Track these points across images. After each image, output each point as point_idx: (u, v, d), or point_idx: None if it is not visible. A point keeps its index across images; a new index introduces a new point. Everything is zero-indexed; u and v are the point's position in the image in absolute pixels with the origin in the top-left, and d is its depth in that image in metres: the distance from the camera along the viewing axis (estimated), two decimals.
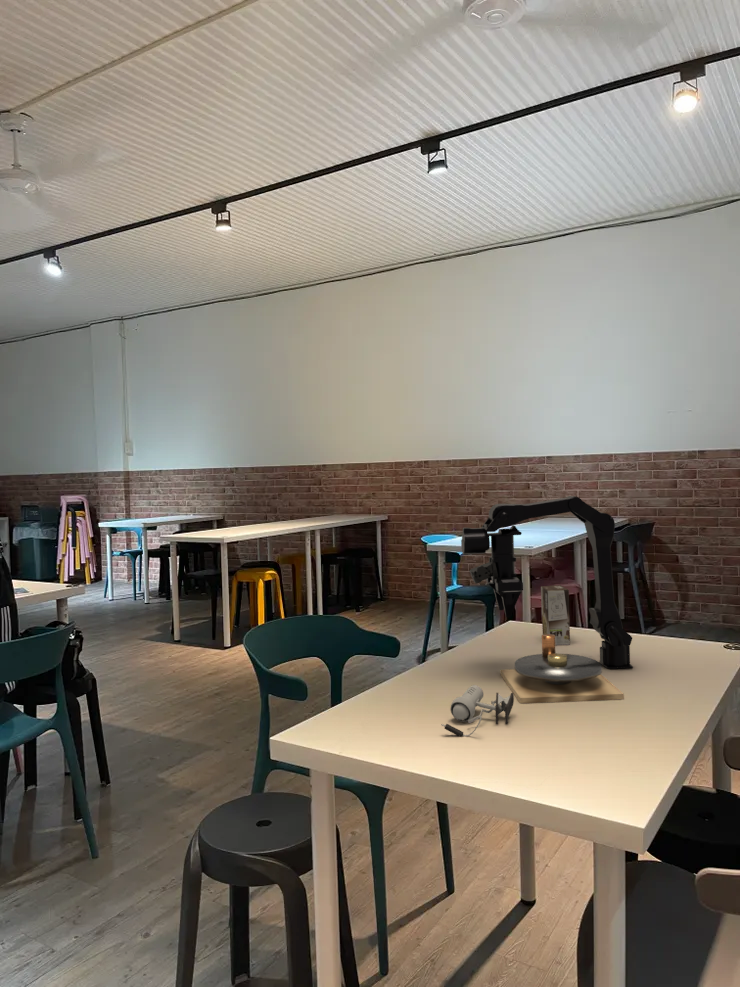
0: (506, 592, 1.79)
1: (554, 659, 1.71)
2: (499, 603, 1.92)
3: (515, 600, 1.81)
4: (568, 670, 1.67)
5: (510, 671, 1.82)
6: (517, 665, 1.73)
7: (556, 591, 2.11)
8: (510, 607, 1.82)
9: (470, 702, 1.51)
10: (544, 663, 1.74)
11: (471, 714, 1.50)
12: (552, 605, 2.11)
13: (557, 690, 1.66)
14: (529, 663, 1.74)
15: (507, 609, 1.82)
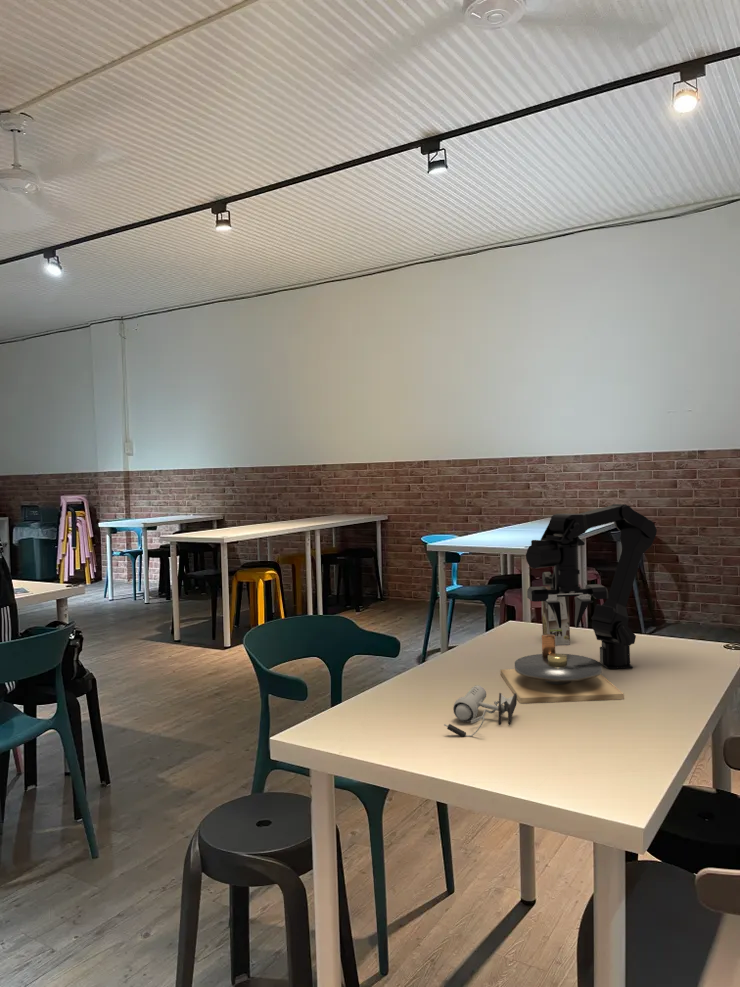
0: None
1: (554, 659, 1.71)
2: (575, 619, 1.81)
3: (554, 611, 1.79)
4: (568, 670, 1.67)
5: (510, 671, 1.82)
6: (517, 665, 1.73)
7: None
8: (556, 618, 1.80)
9: (473, 702, 1.51)
10: (544, 663, 1.74)
11: (474, 714, 1.50)
12: None
13: (557, 690, 1.66)
14: (529, 663, 1.74)
15: (556, 619, 1.81)
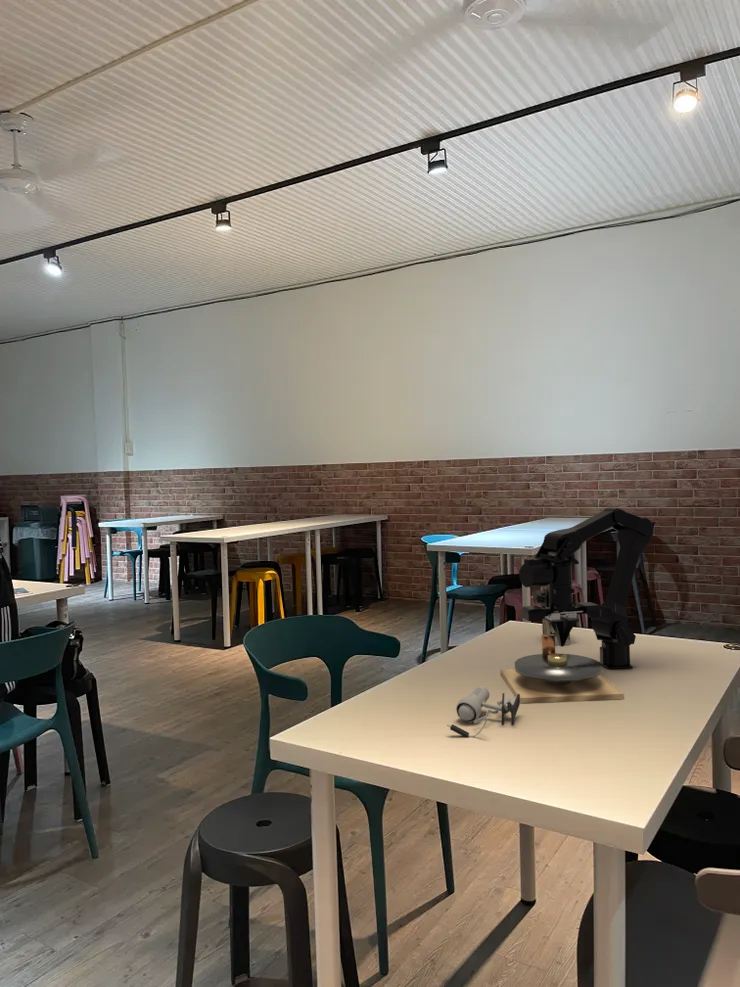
0: (546, 619, 1.81)
1: (554, 659, 1.71)
2: None
3: (557, 630, 1.79)
4: (568, 670, 1.67)
5: (510, 671, 1.82)
6: (517, 665, 1.73)
7: None
8: (558, 637, 1.80)
9: (476, 703, 1.50)
10: (544, 663, 1.74)
11: (477, 715, 1.50)
12: None
13: (557, 690, 1.66)
14: (529, 663, 1.74)
15: (558, 637, 1.81)
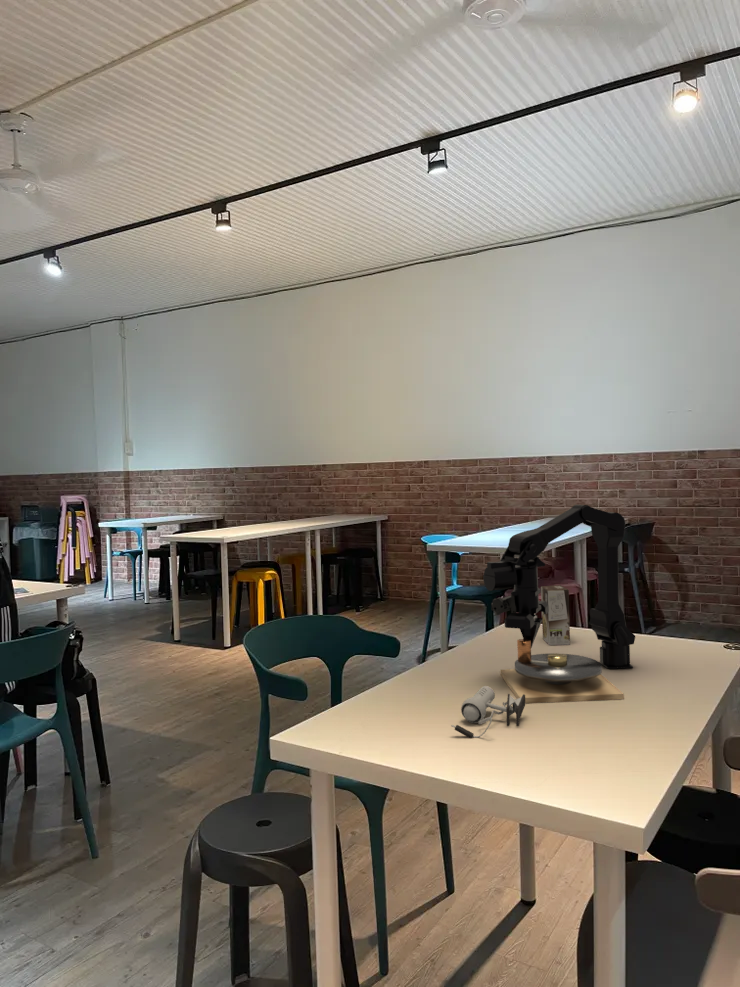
0: None
1: (563, 659, 1.71)
2: None
3: (533, 632, 1.77)
4: (582, 665, 1.71)
5: (510, 671, 1.82)
6: (545, 674, 1.65)
7: (556, 591, 2.11)
8: (529, 639, 1.78)
9: (481, 703, 1.50)
10: (549, 666, 1.71)
11: (482, 715, 1.49)
12: (552, 605, 2.11)
13: (557, 690, 1.66)
14: (543, 670, 1.68)
15: None
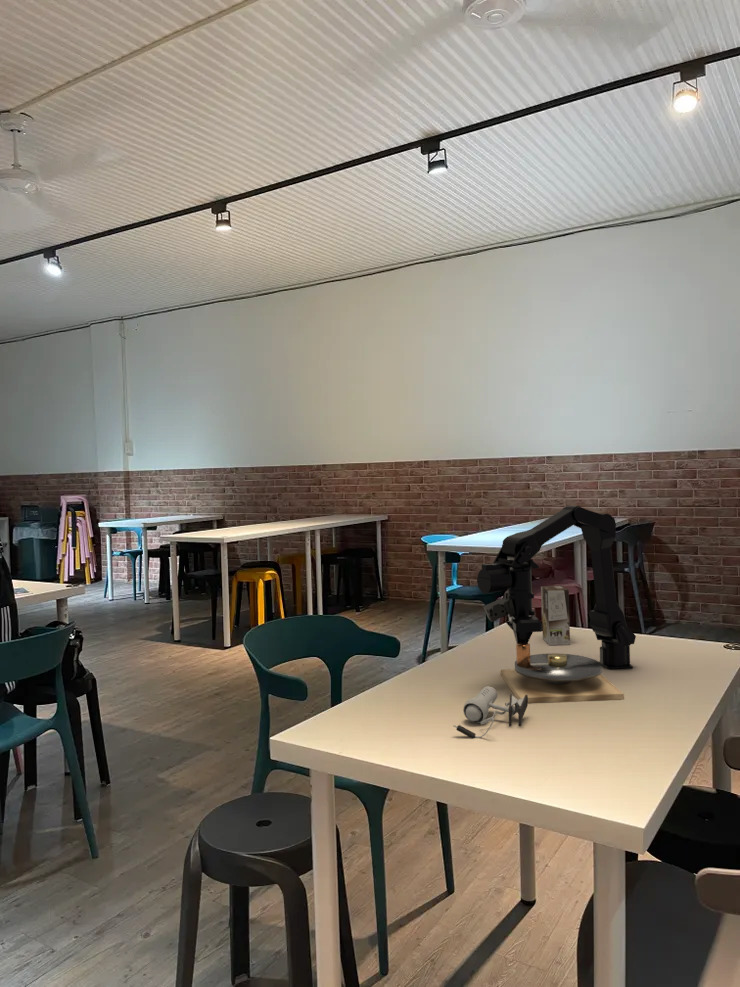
0: None
1: (566, 658, 1.72)
2: None
3: (529, 635, 1.74)
4: (580, 662, 1.74)
5: (510, 671, 1.82)
6: (566, 675, 1.64)
7: (556, 591, 2.11)
8: None
9: (483, 703, 1.50)
10: (556, 667, 1.70)
11: (484, 715, 1.49)
12: (552, 605, 2.11)
13: (557, 690, 1.66)
14: (557, 671, 1.67)
15: None
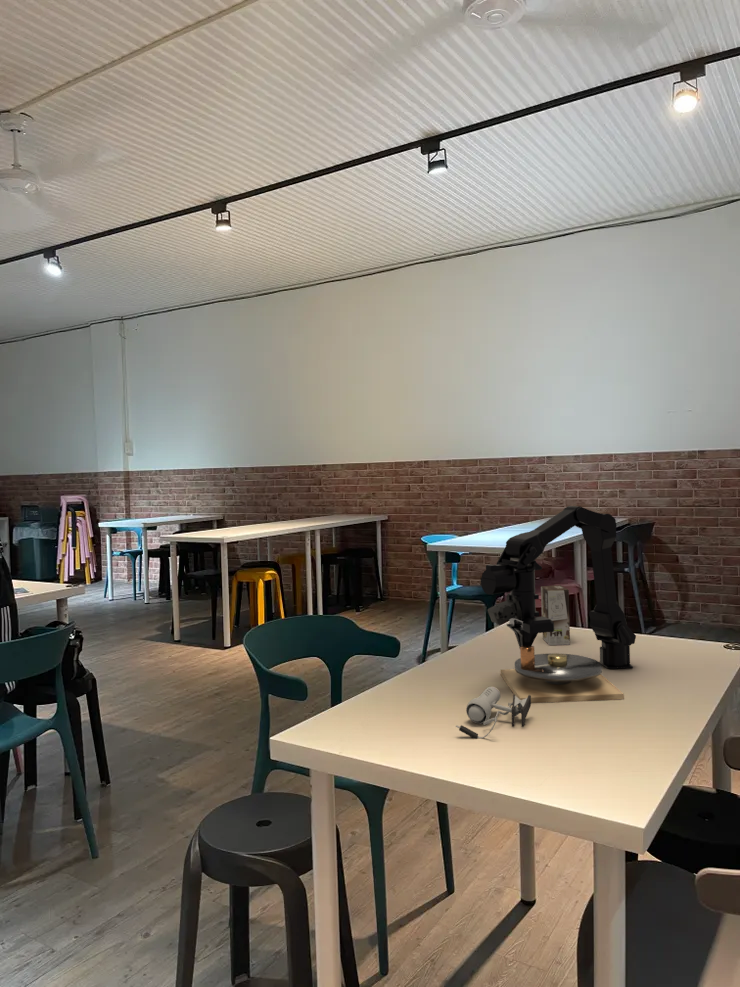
0: None
1: (566, 657, 1.72)
2: None
3: (533, 637, 1.73)
4: (575, 660, 1.76)
5: (510, 671, 1.82)
6: (580, 674, 1.64)
7: (556, 591, 2.11)
8: None
9: (486, 704, 1.49)
10: (560, 667, 1.70)
11: (487, 716, 1.49)
12: (552, 605, 2.12)
13: (557, 690, 1.66)
14: (567, 671, 1.66)
15: None
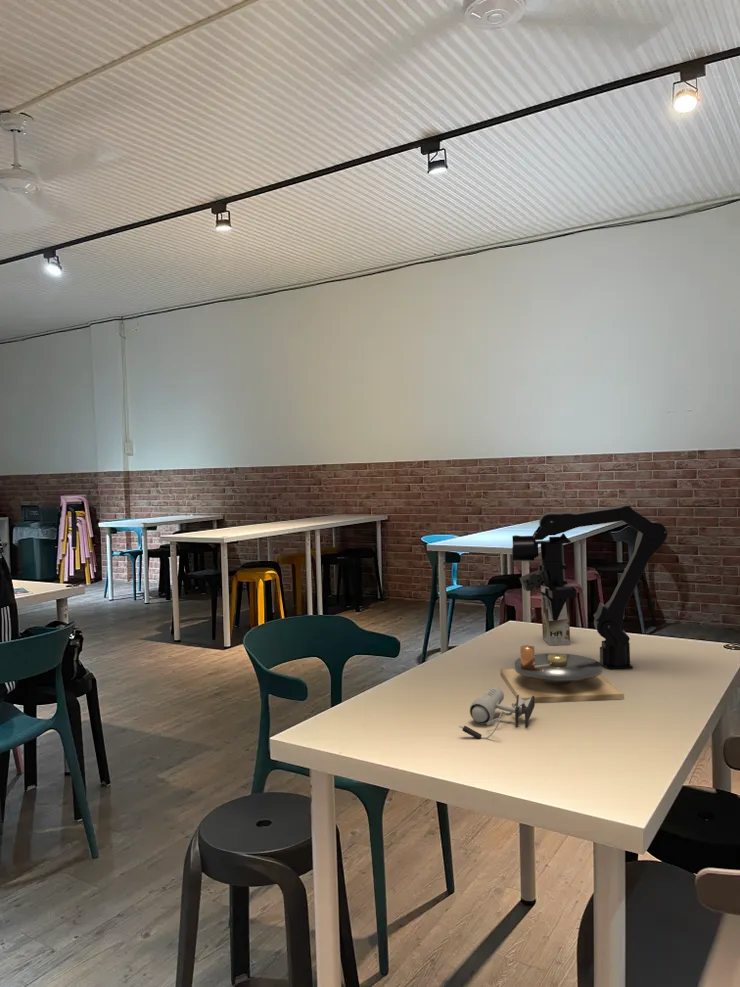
0: None
1: (566, 657, 1.72)
2: None
3: (562, 604, 1.89)
4: (575, 660, 1.76)
5: (510, 671, 1.82)
6: (580, 674, 1.64)
7: None
8: (558, 611, 1.89)
9: (489, 704, 1.49)
10: (560, 667, 1.70)
11: (490, 716, 1.48)
12: None
13: (557, 690, 1.66)
14: (567, 671, 1.66)
15: (554, 612, 1.90)
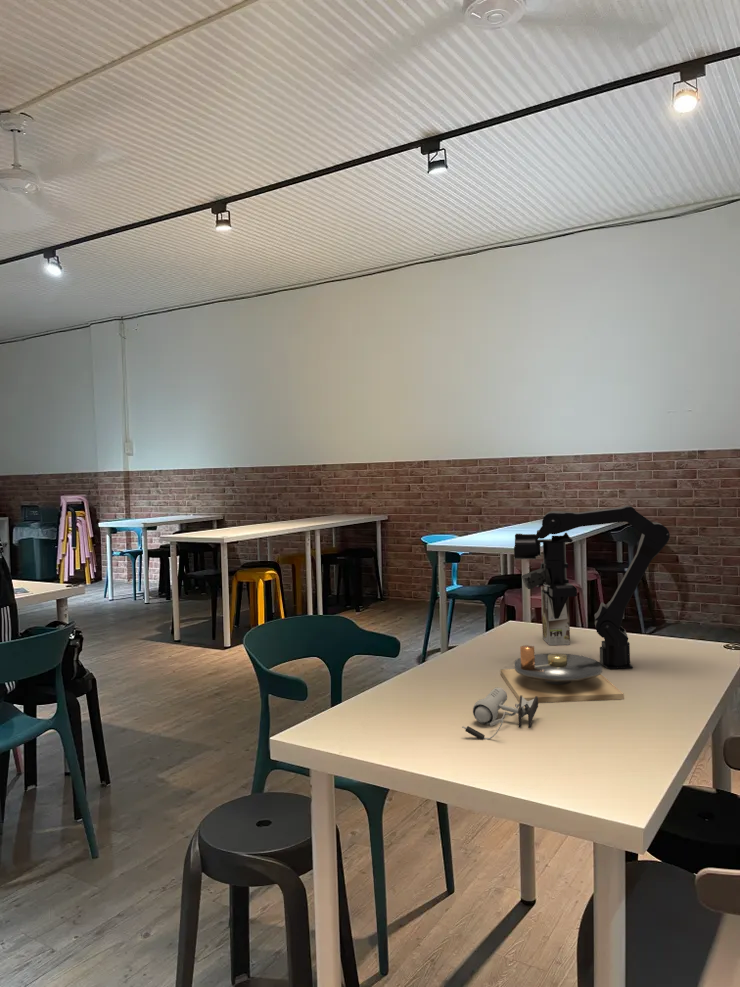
0: None
1: (566, 657, 1.72)
2: None
3: (563, 602, 1.90)
4: (575, 660, 1.76)
5: (510, 671, 1.82)
6: (580, 674, 1.64)
7: None
8: (559, 609, 1.91)
9: (493, 705, 1.49)
10: (560, 667, 1.70)
11: (493, 717, 1.48)
12: None
13: (557, 690, 1.66)
14: (567, 671, 1.66)
15: (555, 611, 1.91)
